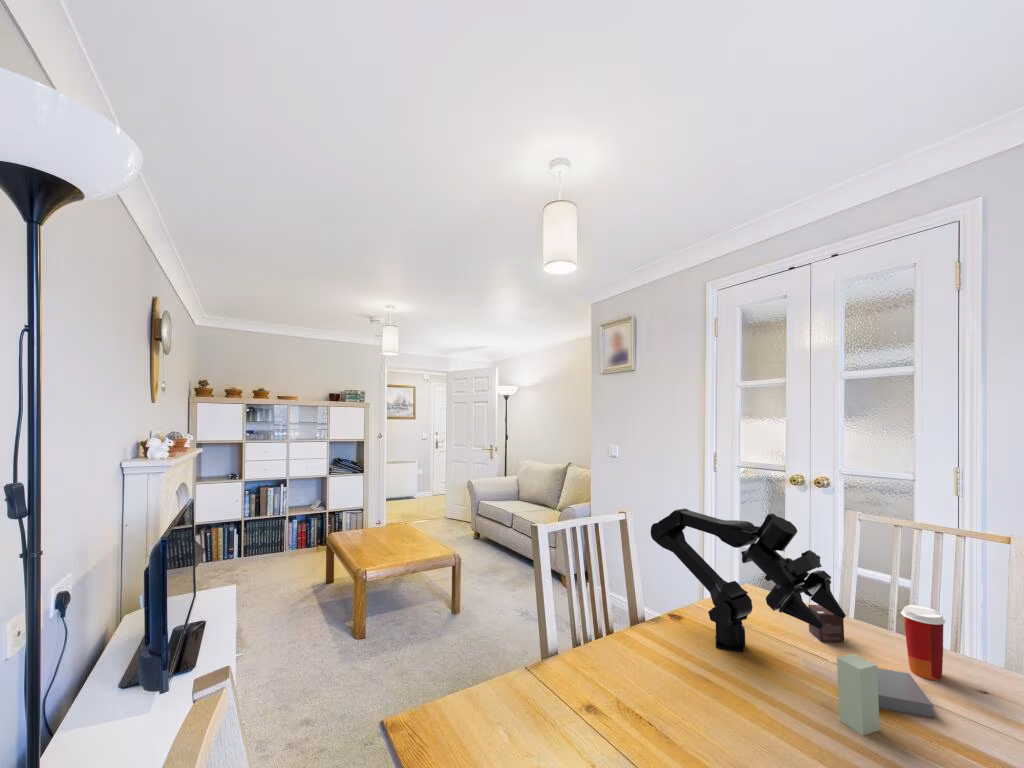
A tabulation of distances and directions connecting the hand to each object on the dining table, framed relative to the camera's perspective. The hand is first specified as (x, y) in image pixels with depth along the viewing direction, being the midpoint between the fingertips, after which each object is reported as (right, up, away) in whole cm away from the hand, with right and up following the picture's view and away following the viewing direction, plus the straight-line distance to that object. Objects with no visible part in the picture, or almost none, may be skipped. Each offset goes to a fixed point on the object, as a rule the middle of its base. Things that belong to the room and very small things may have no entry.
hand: (833, 622), depth 102 cm
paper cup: (+26, -15, +7) cm, 31 cm away
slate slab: (+11, -15, -1) cm, 18 cm away
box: (+15, -16, +25) cm, 33 cm away
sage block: (-2, -15, -11) cm, 18 cm away
